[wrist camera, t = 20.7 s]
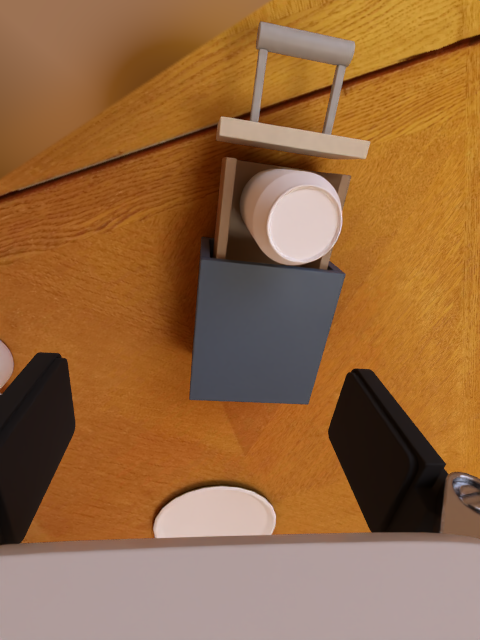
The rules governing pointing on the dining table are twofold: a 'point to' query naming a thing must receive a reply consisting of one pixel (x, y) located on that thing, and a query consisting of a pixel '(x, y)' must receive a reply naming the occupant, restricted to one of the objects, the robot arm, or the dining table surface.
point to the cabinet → (260, 329)
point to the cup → (5, 364)
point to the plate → (215, 514)
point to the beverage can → (291, 214)
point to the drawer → (280, 140)
